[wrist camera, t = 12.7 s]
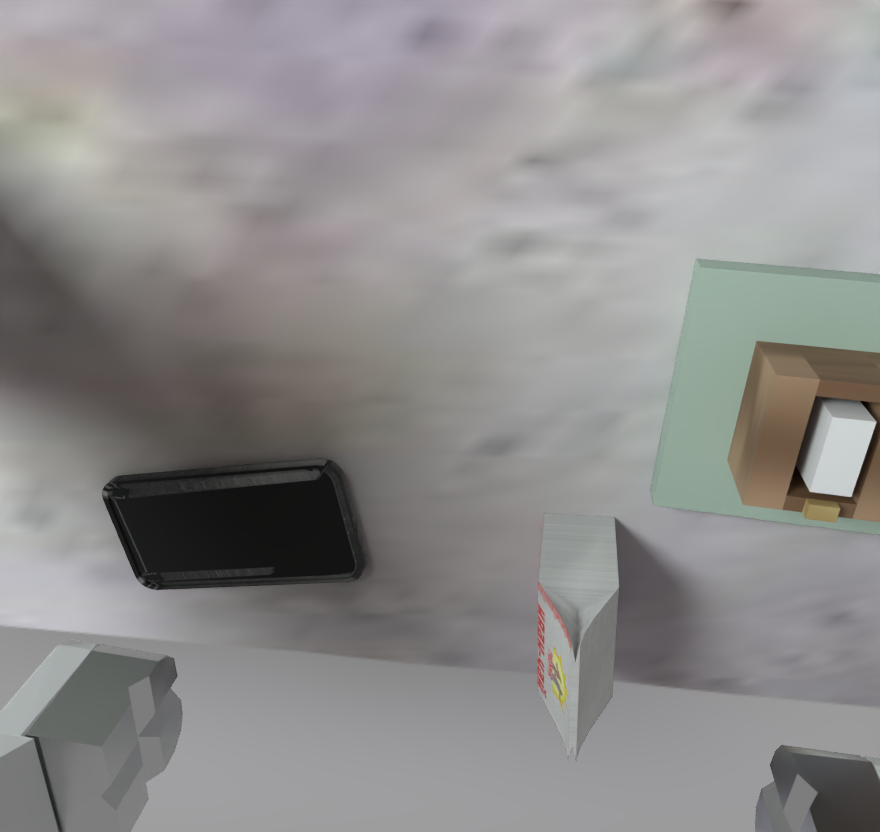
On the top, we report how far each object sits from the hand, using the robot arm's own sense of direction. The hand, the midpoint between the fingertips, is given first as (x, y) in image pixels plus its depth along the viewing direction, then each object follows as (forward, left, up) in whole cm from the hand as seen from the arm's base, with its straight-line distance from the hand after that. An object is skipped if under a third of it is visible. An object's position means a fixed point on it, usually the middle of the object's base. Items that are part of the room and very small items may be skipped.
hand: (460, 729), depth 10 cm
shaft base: (+12, -6, -27) cm, 30 cm away
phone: (-17, -18, -28) cm, 37 cm away
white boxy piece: (+3, -17, -27) cm, 33 cm away
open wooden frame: (+12, -6, -26) cm, 29 cm away
